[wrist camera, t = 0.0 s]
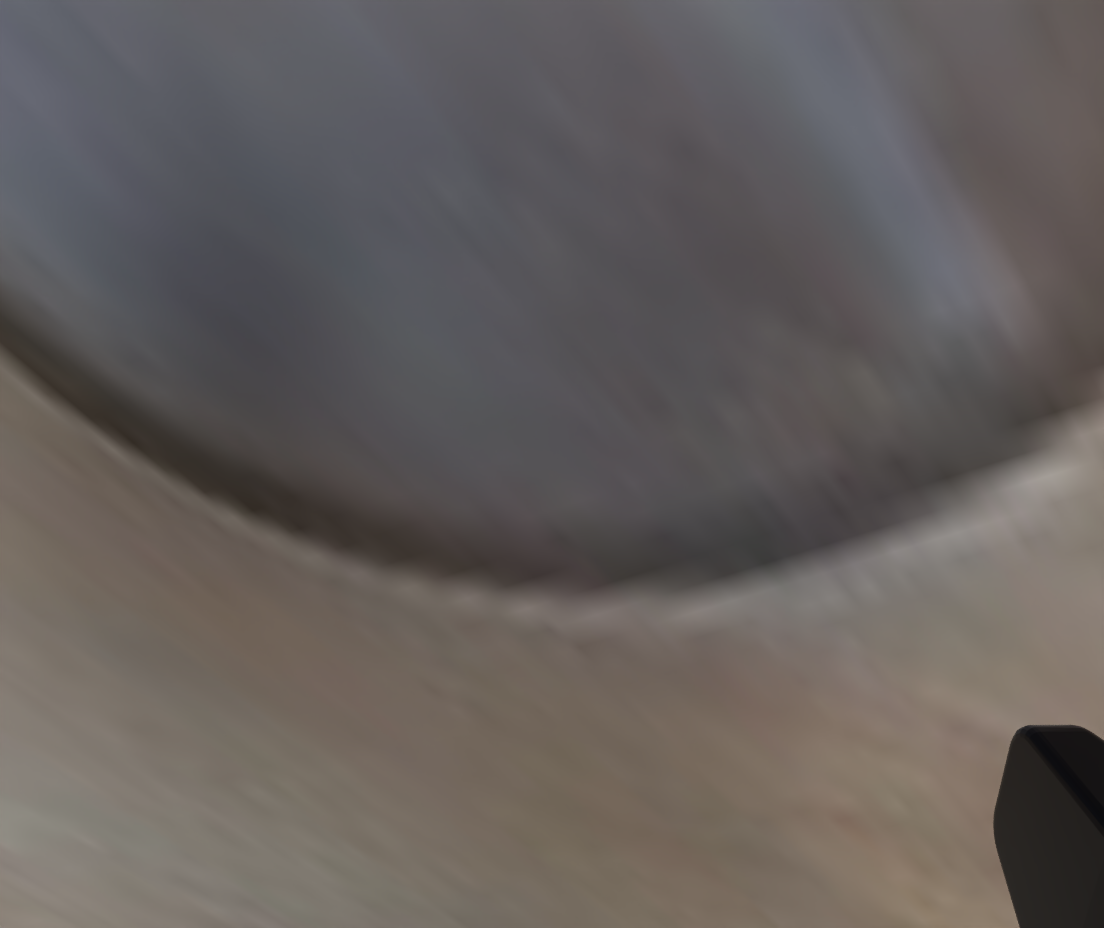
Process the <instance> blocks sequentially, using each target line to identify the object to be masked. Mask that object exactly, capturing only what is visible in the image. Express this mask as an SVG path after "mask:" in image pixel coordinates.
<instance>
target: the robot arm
mask: <svg viewBox="0 0 1104 928" xmlns="http://www.w3.org/2000/svg"><path fill="white" fill-rule="evenodd" d="M993 827H994V838H995V844H996V848H997V852H998V856H999V859H1000V862H1001V866H1002V869H1003V872H1004V876H1005V879H1006V883H1007V886H1008V889H1009V893H1010V896H1011V900H1012V903H1013V906H1014V910H1015V913H1016V917H1017V920H1018V923H1019V927H1020V928H1104V740H1103V739H1101V738H1100V737H1098V736H1097V735H1095V734H1094V733H1092V732H1090V731H1089V730H1087V729H1085V728H1083V727H1080V726H1075V725H1028V726H1024V727H1022V728H1020V729H1019V730H1017V732H1016V733H1015V735H1014V736H1013V738H1012V741H1011V744H1010V747H1009V752H1008V756H1007V760H1006V764H1005V768H1004V773H1003V777H1002V781H1001V785H1000V789H999V794H998V798H997V802H996V806H995V811H994V822H993Z"/></svg>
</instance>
